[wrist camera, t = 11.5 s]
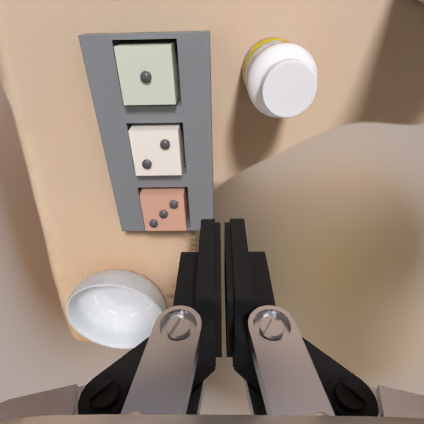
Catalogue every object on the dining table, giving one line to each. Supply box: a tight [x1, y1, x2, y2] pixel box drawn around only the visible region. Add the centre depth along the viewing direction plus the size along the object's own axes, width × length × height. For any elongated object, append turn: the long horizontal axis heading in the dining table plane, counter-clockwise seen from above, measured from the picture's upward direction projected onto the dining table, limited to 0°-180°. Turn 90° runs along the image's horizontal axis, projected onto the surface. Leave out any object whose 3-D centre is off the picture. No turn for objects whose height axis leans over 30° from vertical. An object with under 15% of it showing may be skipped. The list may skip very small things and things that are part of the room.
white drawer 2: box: [128, 122, 184, 176], centre depth 40 cm, size 6×6×4 cm
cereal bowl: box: [66, 269, 166, 348], centre depth 56 cm, size 17×17×7 cm
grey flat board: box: [78, 31, 214, 231], centre depth 41 cm, size 14×26×3 cm, turn 1°
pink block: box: [139, 187, 188, 231], centre depth 45 cm, size 6×6×4 cm
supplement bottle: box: [242, 37, 318, 118], centre depth 32 cm, size 7×7×13 cm
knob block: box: [114, 42, 179, 105], centre depth 35 cm, size 6×6×4 cm
